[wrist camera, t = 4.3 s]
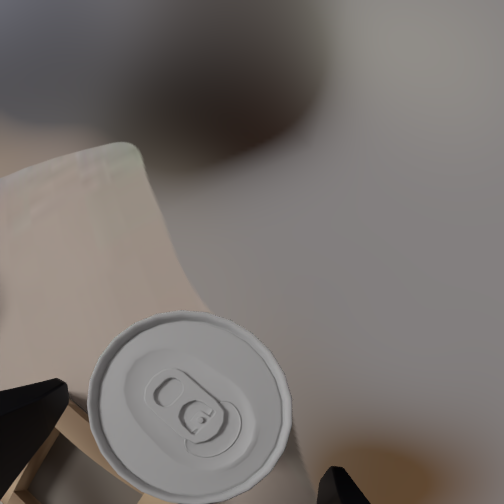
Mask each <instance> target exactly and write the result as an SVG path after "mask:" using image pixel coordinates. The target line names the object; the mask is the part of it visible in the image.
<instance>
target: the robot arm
mask: <svg viewBox="0 0 504 504" xmlns="http://www.w3.org/2000/svg"><path fill="white" fill-rule="evenodd" d="M68 404H69V394H68V386H67V384H66V383H65V382H64V381H62V380H60V379H58V378H54V379H50V380H46V381H42V382H38V383H34V384H30V385H26V386H21V387H17V388H13V389H8V390H3V391H0V500H1V499H2V497H3V496H4V495H5V493H6V492H7V491H8V489H9V488H10V486H11V485H12V484H13V482H14V481H15V480H16V478H17V477H18V476H19V474H20V473H21V472H22V470H23V469H24V468H25V466H26V465H27V464H28V463H29V461H30V460H31V459H32V457H33V456H34V455H35V453H36V452H37V451H38V450H39V448H40V447H41V446H42V444H43V443H44V442H45V441H46V439H47V438H48V437H49V435H50V434H51V432H52V431H53V429H54V427H55V426H56V424H57V422H58V421H59V419H60V417H61V416H62V414H63V413H64V411H65V409H66V408H67V406H68ZM317 504H370V502H369V501H368V500H367V498H366V497H365V496H364V494H363V493H362V492H361V491H360V489H359V488H358V487H357V485H356V484H355V483H354V481H353V480H352V479H351V477H350V476H349V475H348V473H347V472H346V471H345V469H344V468H343V467H337V466H331V467H330V468H329V469H328V470H327V471H326V473H325V474H324V476H323V477H322V478H321V480H320V483H319V489H318V498H317Z"/></svg>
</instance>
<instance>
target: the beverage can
mask: <svg viewBox="0 0 504 504" xmlns="http://www.w3.org/2000/svg"><path fill="white" fill-rule="evenodd" d="M87 408H88V416H89V422H90V429H91V431H92V434H93V436H94V438H95V441H96V443H97V445H98V447H99V450H100V452H101V454H102V455H103V456H104V457H105V459H106V460H107V461H108V463H109V464H110V465H111V466H112V468H113V469H114V470H115V471H116V472H117V474H118V475H119V476H121V477H122V478H123V479H125V480H126V481H127V482H129V483H130V484H131V485H133V486H134V487H136V488H137V489H138V490H140V491H141V492H144V493H146V494H149V495H151V496H153V497H156V498H159V499H161V500H164V501H166V502H172V503H179V504H210V503H217V502H223V501H226V500H228V499H231V498H233V497H235V496H237V495H240V494H242V493H244V492H246V491H248V490H250V489H251V488H253V487H254V486H255V485H256V484H257V483H259V482H260V481H261V480H262V479H263V478H264V477H266V476H267V475H268V474H269V473H270V472H271V471H272V469H273V468H274V466H275V465H276V463H277V462H278V460H279V458H280V457H281V455H282V454H283V452H284V450H285V448H286V445H287V441H288V438H289V434H290V431H291V427H292V397H291V393H290V390H289V387H288V383H287V380H286V376H285V373H284V372H283V370H282V368H281V367H280V365H279V363H278V362H277V360H276V358H275V357H274V355H273V354H272V352H271V351H270V350H269V349H268V348H267V347H266V346H265V345H264V344H263V343H262V342H261V341H260V340H259V339H258V338H257V337H256V336H255V335H254V334H253V333H251V332H250V331H248V330H246V329H245V328H243V327H241V326H240V325H238V324H236V323H235V322H233V321H231V320H229V319H226V318H223V317H219V316H216V315H213V314H210V313H207V312H197V311H184V310H180V311H173V312H166V313H160V314H155V315H153V316H150V317H148V318H146V319H143V320H141V321H138V322H136V323H134V324H132V325H131V326H130V327H128V328H127V329H126V330H124V331H123V332H122V333H120V334H119V335H118V336H116V337H115V338H114V339H113V340H112V342H111V343H110V344H109V345H108V347H107V348H106V349H105V351H104V352H103V353H102V354H101V356H100V357H99V359H98V362H97V364H96V366H95V369H94V371H93V373H92V376H91V378H90V383H89V391H88V399H87Z"/></svg>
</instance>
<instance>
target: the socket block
mask: <svg viewBox="0 0 504 504" xmlns="http://www.w3.org/2000/svg"><path fill="white" fill-rule="evenodd" d="M1 501H2V503H3V504H178V503H172V502H166V501H164V500H161V499H159V498H156V497H153V496H151V495H149V494H146V493H144V492H141V491H140V490H138V489H137V488H136V487H134V486H133V485H131V484H130V483H129V482H127V481H126V480H125V479H123V478H122V477H121V476H119V475H118V474H117V472H116V471H115V470H114V469H113V468H112V466H111V465H110V464H109V463H108V461H107V460H106V459H105V457H104V456H103V455H102V454H101V452H100V450H99V447H98V445H97V443H96V441H95V438H94V436H93V434H92V431H91V429H90V422H89V416H88V413H86V412H85V411H84V410H83V409H82V408H80V407H79V406H78V405H77V404H76V403H75V402H74V401H72V400H71V399H70V398H69V404H68V406H67V408H66V409H65V411H64V413H63V414H62V416H61V417H60V419H59V421H58V422H57V424H56V426H55V427H54V429H53V431H52V432H51V434H50V435H49V437H48V438H47V439H46V441H45V442H44V443H43V444H42V446H41V447H40V448H39V450H38V451H37V452H36V453H35V455H34V456H33V457H32V459H31V460H30V461H29V463H28V464H27V465H26V466H25V468H24V469H23V470H22V472H21V473H20V474H19V476H18V477H17V478H16V480H15V481H14V482H13V484H12V485H11V486H10V488H9V489H8V491H7V492H6V493H5V495H4V496H3V497H2V499H1Z"/></svg>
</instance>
